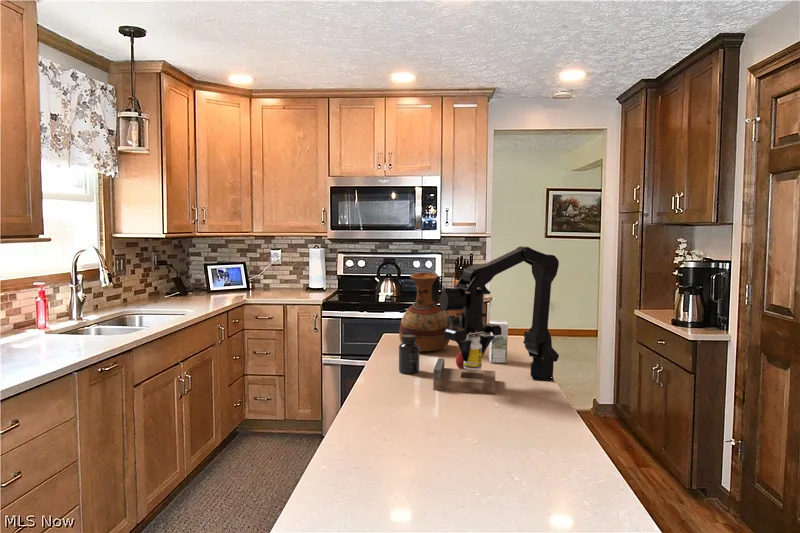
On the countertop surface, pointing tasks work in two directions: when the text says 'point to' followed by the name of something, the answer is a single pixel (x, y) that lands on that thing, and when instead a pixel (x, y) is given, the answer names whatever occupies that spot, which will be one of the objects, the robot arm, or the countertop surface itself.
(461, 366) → the onion
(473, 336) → the supplement bottle
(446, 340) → the brown ceramic vase
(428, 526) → the countertop surface
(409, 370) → the supplement bottle
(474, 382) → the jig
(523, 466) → the countertop surface
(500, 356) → the syrup box
